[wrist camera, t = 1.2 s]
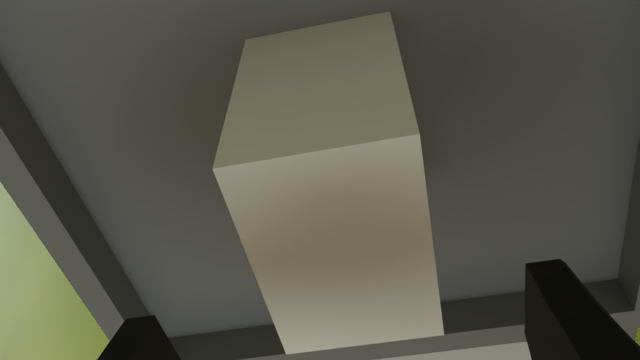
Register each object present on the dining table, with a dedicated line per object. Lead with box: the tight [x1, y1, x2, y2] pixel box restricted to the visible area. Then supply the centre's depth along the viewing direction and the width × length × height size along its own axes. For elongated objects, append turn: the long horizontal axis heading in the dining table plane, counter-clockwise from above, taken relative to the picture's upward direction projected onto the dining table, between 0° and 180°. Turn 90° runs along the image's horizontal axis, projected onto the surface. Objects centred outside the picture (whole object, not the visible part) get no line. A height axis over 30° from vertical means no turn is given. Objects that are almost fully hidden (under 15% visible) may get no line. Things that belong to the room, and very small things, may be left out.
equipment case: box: [0, 0, 640, 360], centre depth 22 cm, size 38×20×2 cm, turn 12°
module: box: [212, 11, 444, 355], centre depth 15 cm, size 6×4×6 cm
